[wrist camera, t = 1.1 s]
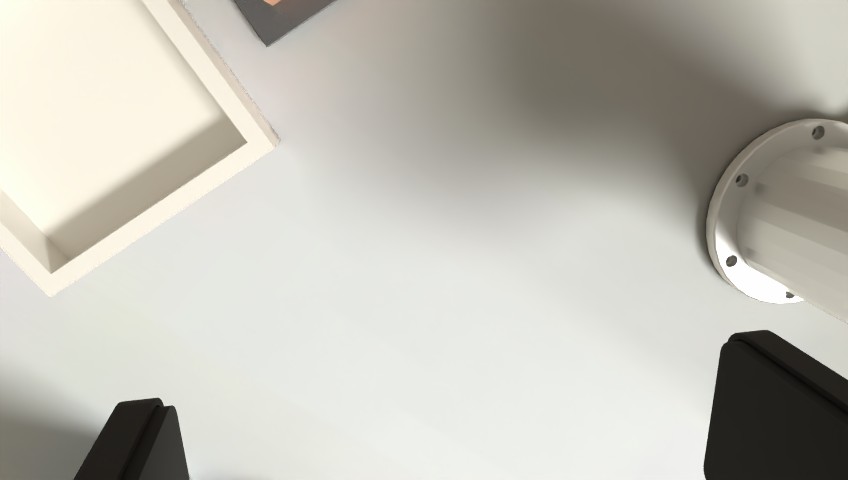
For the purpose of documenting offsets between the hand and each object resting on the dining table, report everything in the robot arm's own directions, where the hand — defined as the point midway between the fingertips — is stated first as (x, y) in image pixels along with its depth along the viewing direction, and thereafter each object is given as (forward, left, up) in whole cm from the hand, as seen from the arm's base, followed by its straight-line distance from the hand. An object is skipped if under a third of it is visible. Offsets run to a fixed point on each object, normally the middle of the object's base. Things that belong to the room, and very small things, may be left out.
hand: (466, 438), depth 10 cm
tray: (+12, -12, -27) cm, 31 cm away
